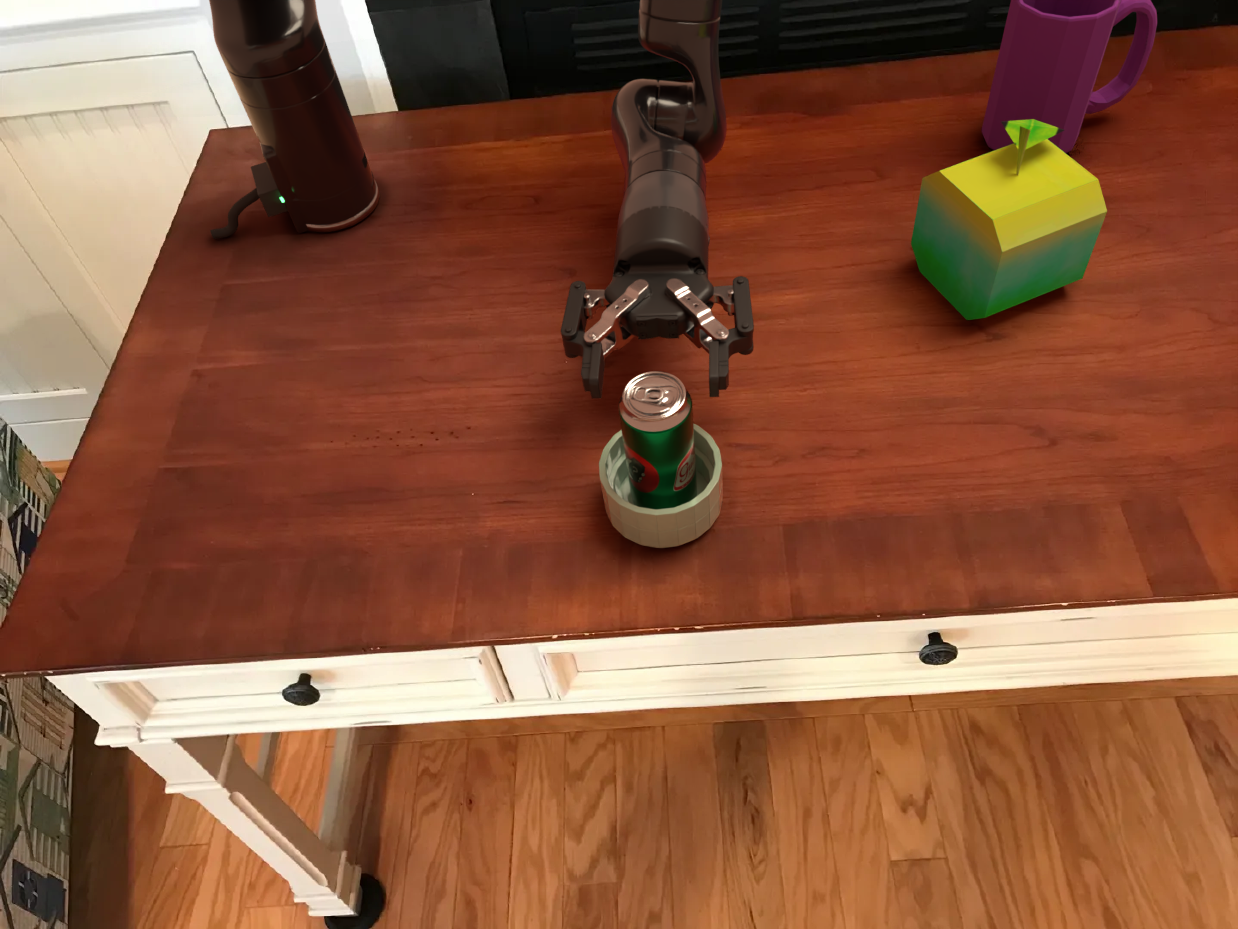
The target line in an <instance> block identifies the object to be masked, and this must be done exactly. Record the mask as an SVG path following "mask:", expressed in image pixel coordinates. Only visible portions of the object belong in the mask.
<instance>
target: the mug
mask: <svg viewBox="0 0 1238 929" xmlns="http://www.w3.org/2000/svg"><path fill="white" fill-rule="evenodd" d="M1133 12H1134V13H1136V23H1135V28H1134V32H1133V37H1132V41H1131V43H1130V47H1129V49H1128V52H1127V54H1126V57H1125V60H1124V62H1123V64H1122V65H1121V67H1120V70H1119V72H1118V74H1117V75H1115V76H1114V78H1112V79H1111V80H1110V81H1109V82H1108V83H1107V84H1106V85H1104V86H1102V87H1100V88H1099V89H1097V90H1096V91H1093V90H1094V88H1095V84H1096V82H1097V78H1098V75H1099V71H1100V68H1101V65H1102V62H1103V60H1104V56H1105V53H1106V49H1107V46H1108V43H1109V41H1110V37H1111V33H1112V30H1113V27H1114V26H1116V25H1117V24H1118V23H1120V22H1121V21H1123V20H1124V19H1125V18H1126V17H1128V16H1129V15H1130V14H1131V13H1133ZM1157 12H1158V11H1157V9H1156V7H1155V5H1154V3H1153V2H1152V0H1010V4H1009V9H1008V12H1007V17H1006V21H1005V25H1004V30H1003V34H1002V39H1001V42H1000V46H999V52H998V56H997V60H996V64H995V69H994V74H993V77H992V82H991V87H990V90H989V95H988V100H987V103H986V104H987V105H986V108H985V113H984V117H983V121H982V126H981V134H982V136H983V138H984V140H985V141H984V142H985V143H986V145H987V147H988V148H989V149H991V150H992V151H994V150H997V149H1000V148H1003V147H1005V146H1008V145H1011V144H1013V143H1014V142H1013V140H1012V139H1011V137H1010V136H1009V134H1008V132H1007V131H1006V129H1005V128H1004V126H1003V124H1002V123H1001V121H1015V120H1029V119H1034V120H1037V121H1040V122H1043V123H1046V124H1049V125H1052V126H1055V127H1058V128H1061V129H1064V131H1062V132H1060V133H1058V134H1056V135H1054V136H1052V137H1050V138H1048V140H1049V141H1050V142H1052V143H1053V144H1054V145H1055V146H1057V147H1058V148H1059V149H1061V150H1062V151H1063V152H1064V153H1066V154H1067V153H1069V152H1071V151H1072V150H1073V148H1074V147H1075V144H1076V142H1077V140H1078V137H1079V136H1080V132H1081V128H1082V125H1083V122H1084V119H1085V115H1086V114H1088V115H1092V114H1096V113H1099V112H1102V111H1105V110H1107V109H1108V108H1111V107H1112V106H1114V105H1115V104H1118V103H1119V102H1121V101H1122V100H1123V99H1124V98H1125V97H1126V96H1127V95H1128V94H1129V93H1130V92H1131V90H1133V89H1134V88H1135V87H1136V85H1137V83H1138V82H1139V80H1140V78H1141V76H1142V74H1143V72H1144V70H1145V69H1146V66H1147V63H1148V60H1149V57H1150V55H1151V53H1152V49H1153V47H1154V43H1155V38H1156V32H1157V27H1158V14H1157Z"/></svg>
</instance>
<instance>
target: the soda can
mask: <svg viewBox="0 0 1238 929" xmlns="http://www.w3.org/2000/svg"><path fill="white" fill-rule="evenodd" d="M618 417H619V422H620V430H621V431H622V437H623V444H624V451H625V457H626V464H627V471H628V478H629V484H630V491H631V498H632V501H633V504H634V505H636V506H638V507H643V508H649V509H656V510H657V509H666V508H674V507H677V506H680V505H682V504H685V503H687V502H690V501H691V500H693V499H694V498H695V497H697V479H696V461H695V443H694V426H693V424H694V411H693V398H692V396H691V394H690V392H689V390H688V389H687V388H686V387H685V385H684V383H683V381H682V380H681V379H679V378H678V377H677V376H676V375H674V374H672V373H670V372H666V371H661V370H653V371H652V370H651V371H647V372H643V373H640V374H638V375H636V376H634V377H632V378H631V379H630V380H629V381H628V382H627V384H626V385H625V386H624V388H623V391H622V394H621V396H620V398H619V401H618Z"/></svg>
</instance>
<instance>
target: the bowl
mask: <svg viewBox="0 0 1238 929" xmlns="http://www.w3.org/2000/svg"><path fill="white" fill-rule="evenodd" d="M693 426H694V443H695V461H696V479H697V497H695V498H694V499H693V500H691V501H690V502H687V503H685V504H682V505H680V506H677V507H674V508H666V509H657V510H656V509H649V508H643V507H638V506H636V505H634V504H633V501H632V498H631V491H630V484H629V478H628V471H627V464H626V457H625V451H624V444H623V437H622V431H621V429H620V430H618V431H617V432H616V433H615V434H614V435H612V437H610V439H609V441H608V442H607V443H606V445H605V446H604V447H603V450H602V452H601V456H600V458H599V460H598V473H599V474H598V475H599V482H600V486H601V493H602V498H603V503H604V508H605V512H606V515H607V517H608V519H609V521H610V523H611V525H612V527H613V528H614V529H615V530H616V531H617V532H618V533H620V535H622V537H624V538H625V539H626V540H629V541H631V542H634V543H635V544H638V545H640V546H642V547H643V546H645V547H650V548H656V549H665V548H673V547H675V548H676V547H679V546H682V545H684V544H687V543H689V542H692V541H694V540H696V539H699V538H700V537H701V536H703V534H705V533H706V532H708V531H709V530H710V528H712V527H713V525H714V523H715V521H717V519H718V517H719V516H720V514H721V511H722V510H721V509H722V506H723V501H724V491H723V490H724V488H723V487H724V486H723V461H722V455H721V450H720V448H719V446H718V444H717V442H716V441H715V440H714V438H713V436H712V435H711V434H710V433H708V432H707V431H706V430H704V428H702V427H701V426H699V425H698V424H696V423H693Z"/></svg>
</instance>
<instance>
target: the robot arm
mask: <svg viewBox="0 0 1238 929" xmlns="http://www.w3.org/2000/svg"><path fill="white" fill-rule="evenodd" d="M208 1H209V8H210V12H211V20H212V31H213V32H212V33H213V38H214V42H215V43H214V44H215V45H216V48H217V51H218V53H219V55H220V58H221V60H222V62H223V64H224V67H225V68H226V71H227V73H228V76H229V77H230V80H231V82H232V84H233V86H234V89H235V90H236V93H237V95H238V97H239V100H240V102H241V104H242V106H243V109H244V111H245V113H246V115H247V117H248V120H249V122H250V125H251V127H252V129H253V131H254V134H255V135H256V138H257V140H258V144H259V146H260V150H261V153H262V157H263V159H264V162H261V163H258V164H255V165H251V166H250V170H251V174H252V177H253V182H254V185H255V188H253V190H251V191H250V192H248V193H247V194H245V195H243V196H242V197H241V198H240V199H238V200H237V201H236V202H235V203H234V204H233V205H232V206H231V207H230V209H229V210H228V213H227V225H225V226H224V227H219V228H213V229H209V232H210V235H211V237H212V239H213V240H217V239H222V238H227V237H230V236H232V235H234V234H235V233H236V232H237V230H238V228H239V217H240V216H241V214H242V212H243V211H245V209H247V208H248V207H249V206H251V205H252V204H253V203H256V201H258V200H260V202H261V204H262V207H263V208H264V211H265V212H266V216H267V217H268V218H271V217H274V216H277V215H280V214H283V213H286V212H288V214H289V217H290V219H291V221H292V223H293V226H294V228H295V230H296V232H297V234H302V233H306V232H313V233H332V232H336V231H341V230H344V229H347V228H350V227H353V226H355V225H356V224H359V223H360V222H362V221H363V220H364V219H367V217H368V216H370V215H371V213H372V212H374V210H375V209H376V207H377V206H378V204H379V201H380V197H381V193H380V190H379V186H378V184H377V183H378V182H377V181H376V180H375V176H374V174H373V171H372V169H371V165H370V163H369V162H370V160H369V157H368V156H367V154H366V151H365V148H364V147H363V146H364V145H363V144H362V141H361V138H360V135H359V133H358V129H357V127H356V123H355V121H354V118H353V116H352V113H351V110H350V108H349V104H348V101H347V98H346V96H345V92H344V90H343V87H342V85H341V84H342V83H341V81H340V79H339V76H338V73H337V70H336V68H335V63H334V62H333V59H332V56H331V53H330V50H329V47H328V45H327V42H326V39H325V37H324V33H323V30H322V27H321V24H320V21H319V16H318V11H317V10H318V9H317V2H316V0H208ZM722 6H723V0H639V7H638V8H639V10H638V22H637V36H638V41H639V43H640V45H641V46H642V48H643V49H645V50H646V51H648V52H649V53H652V54H655V55H657V56H660V57H663V58H667V59H669V60H672V61H674V62H678V63H679V64H681V65H683V66H684V67H685V68H686V69H687V70H688V71H689V73H690V75H691V78H692V81H691V82H686V81H674V80H665V79H659V80H658V79H653V78H637V79H633V80H631V81H628V82H627V83H625V84H624V85H622V87H620V89H619V90H618V91H617V93H616V95H615V96H614V99H613V101H612V105H611V110H610V127H611V134H612V138H613V142H614V146H615V150H616V152H617V154H618V157H619V159H620V162H621V164H622V168H623V170H624V171H623V172H624V183H623V184H624V185H623V195H622V203H621V206H620V209H619V212H618V217H617V226H616V237H615V247H614V248H615V249H614V258H613V270H612V277H611V278H612V279H611V281H610V282H609V284H608V285H607V286H606V287H605V289H593V288H592V289H591V288H587V285H586V283H585V282H584V281H582V280H575V281H573V282H572V283H571V284H570V286H569V290H568V295H567V300H566V304H565V307H564V308H565V309H564V312H563V316H562V322H561V327H560V335H561V340H562V344H563V350H564V351H563V352H564V356H566V357H567V358H568V359H575V358H578V357H580V358H582V360H581V369H580V377H581V382H582V387H583V389H584V392H585V393H587V392H588V393H590V398H591V399H594V400H595V399H596V400H599V399H602V398H603V388H604V378H605V369H606V368H605V367H606V362H605V361H606V360H605V359H606V358H607V357H608V356H610V355H611V354H612V353H613V352H614V351H616V350H617V351H620V350H622V349H623V348H624V347H625V346H626V345H627V344H629V343H630V341H631V340H633V339H634V338H635V337H637V339H638V340H650V339H655V338H662V339H669V340H670V339H680V336H683V335H684V336H685V337H686V338H687V339H688V340H689V341H690V342H691V343H692V344H693V346H695V347H697V349H701V348H702V349H703V350H704V351H705V352H706V353H707V354H708V392H709V393H708V394H709V398H720V391H727V389H728V387H729V385H730V370H729V368H730V358H731V357H732V356H733V355H735V354H739V355H743V356H748V355H751V354H752V353H753V352H754V331H755V329H754V328H755V325H754V316H753V307H752V299H751V289H750V281H749V279H748V278H747V277H746V276H743V275H738V276H736V277H734V278H733V280H732V284H731V285H717V286H716V285H715V286H714V284H712V282H711V281H710V279H709V253H710V252H709V251H710V250H709V246H710V242H711V237H710V231H709V230H710V221H709V213H708V208H707V168H706V164H708V163H710V162H711V161H713V160H714V159H715V158H716V157H717V156H718V155H719V153H720V152H721V150H722V149H723V147H724V144H725V141H726V137H727V128H728V125H727V123H728V122H727V112H726V105H725V99H724V93H723V88H722V87H723V86H722V81H721V72H720V61H719V60H720V58H719V38H720V37H719V36H720V24H721V23H720V22H721V13H722ZM715 304H718V305H720V306H721V307H722V310H724V312H726V313H727V316H729V317H733V321H734V322H733V323H734V327H732V328H727V327H726V326H725V325H723V323H721V322H720V321H719V320H718V319H717V318H715V316H714V314H713V311H712V308H713V307H714V305H715ZM602 307H603V308H604V307H605V308H606V309H604V310H603V312H602V313H601V315H600V319H599V320H598V321H597V322H595V324H593V325H592V326H591V327H590V328H589V329H588V330H587V331H586V328H587V323H588V320H589V321H591V320H593V319H594V315H595V314H596V313H597V311H598V310H599V309H600V308H602Z"/></svg>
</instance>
